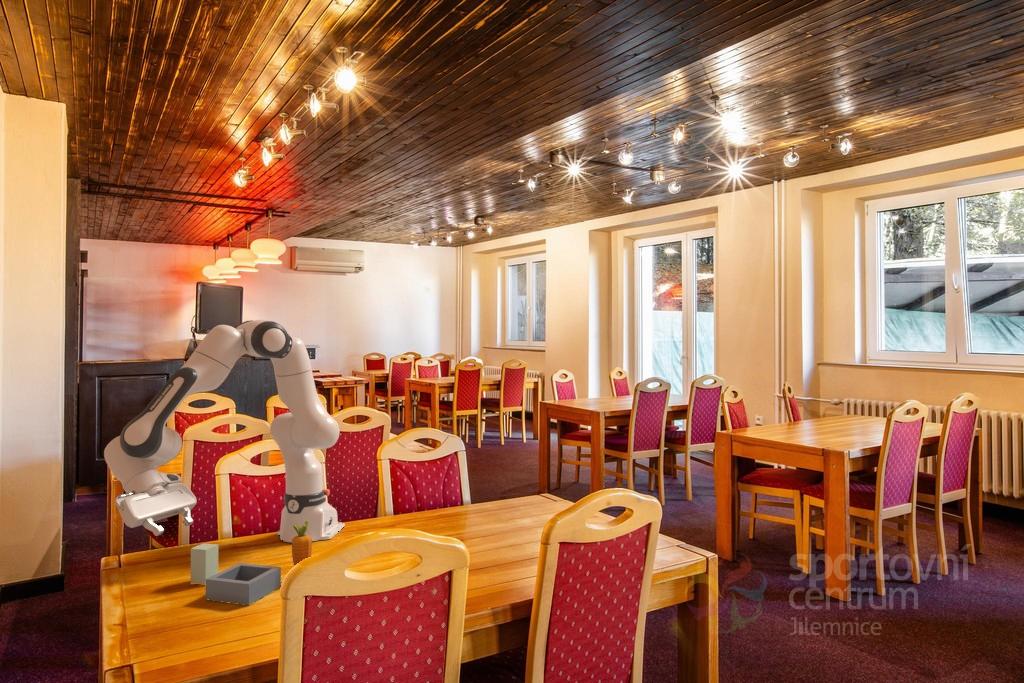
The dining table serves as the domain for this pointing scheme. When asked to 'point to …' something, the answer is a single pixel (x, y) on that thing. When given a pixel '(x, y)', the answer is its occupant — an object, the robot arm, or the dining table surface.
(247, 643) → the dining table surface
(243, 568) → the gray open box
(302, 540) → the carrot
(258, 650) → the dining table surface
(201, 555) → the sage block
